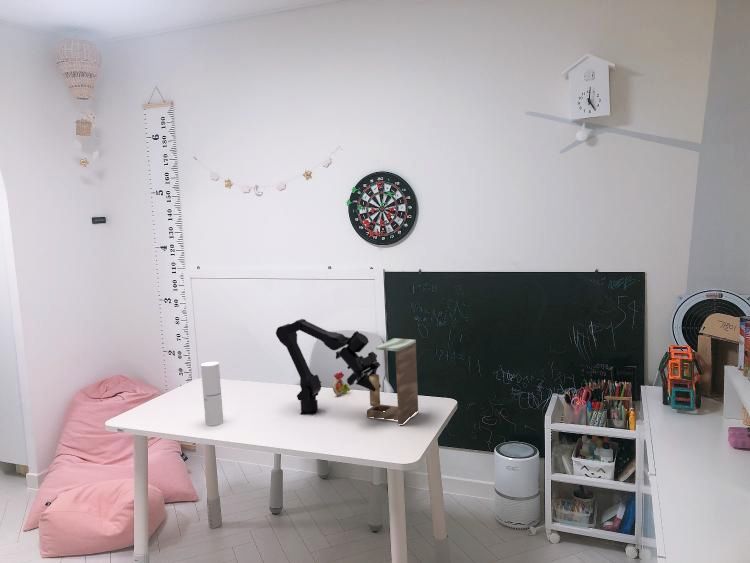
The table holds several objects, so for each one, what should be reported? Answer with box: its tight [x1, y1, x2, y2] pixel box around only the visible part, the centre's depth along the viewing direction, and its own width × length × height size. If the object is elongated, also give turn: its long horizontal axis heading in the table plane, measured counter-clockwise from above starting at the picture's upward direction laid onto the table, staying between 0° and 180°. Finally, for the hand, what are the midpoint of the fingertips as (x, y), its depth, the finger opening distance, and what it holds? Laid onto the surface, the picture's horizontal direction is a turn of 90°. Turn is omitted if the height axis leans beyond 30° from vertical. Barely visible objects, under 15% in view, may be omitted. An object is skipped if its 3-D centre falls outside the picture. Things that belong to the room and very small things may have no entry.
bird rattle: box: [332, 371, 351, 397], centre depth 278 cm, size 6×11×9 cm
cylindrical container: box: [200, 361, 224, 427], centre depth 247 cm, size 7×7×25 cm
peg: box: [369, 373, 381, 407], centre depth 241 cm, size 4×4×12 cm
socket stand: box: [366, 337, 419, 424], centre depth 245 cm, size 18×16×31 cm
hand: (377, 389), depth 240 cm, fingers closed on peg, 4 cm apart
